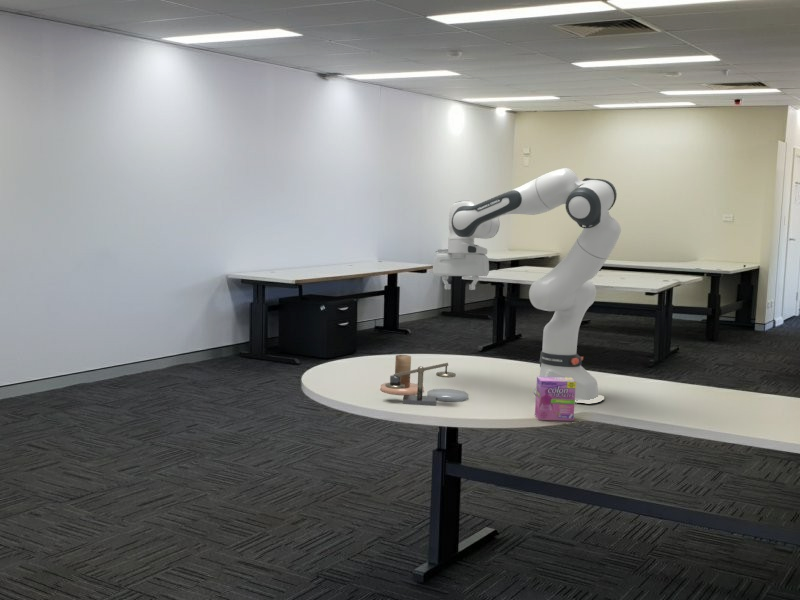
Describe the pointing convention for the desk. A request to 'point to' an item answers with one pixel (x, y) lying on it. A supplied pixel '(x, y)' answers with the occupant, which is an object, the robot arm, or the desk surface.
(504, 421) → the desk surface
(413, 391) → the dish
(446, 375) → the balance
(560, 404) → the box
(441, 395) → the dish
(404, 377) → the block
